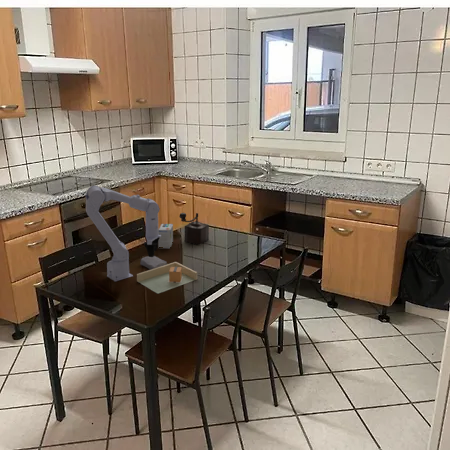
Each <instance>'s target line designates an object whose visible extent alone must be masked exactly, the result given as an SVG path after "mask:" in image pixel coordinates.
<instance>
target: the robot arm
mask: <svg viewBox="0 0 450 450" xmlns="http://www.w3.org/2000/svg"><path fill="white" fill-rule="evenodd" d="M110 200H111V201H112V200H113V201H116V202H120V203H125V204H128V206H129V208H130V209H131V208H132V209H135V210H138V211H140V212H141V211H142V212H145V239H146V241H144V243H143V245H144V247H145V249H146V251H147V255H148V256H149V257H153V256H155V252H157V250H158V247H159V245H158V241H159V238H160V237H161V235H159V234H158V229H159V212H160V211H161V210H160V209H161V208H160V206H159V204H158V203H157V202H156V201H155V200H153V199H152V198H145V197H142V196H140V194H133V195H131V196H129V195H127V194H124V193H121V192H118V191H115V190H112V189H111V188H106V187H104V186H101V187H99V186H98V185H91V186H90V187H88V189H87V191H86V194H85V212H86V214H87V217H89V219H90V221H92V223H93V224H94V225H95V227H96V229H97V230H98V231H99V233H100V234H101V235H102V237H103V238H104V239H105V241H106V242H107V244H108V245H109V247H110V249H111V251H112V253H113V254H112V255H113V256H112V258H111V260H109V261H108V262H107V263H106V268H107V269H106V274H107V275H106V277H107V278H109V279H110V280H112V281H113V282H118V281H122V280H124V279H128V278H131V277H134V275H133V274H132V273H130V261H129V260H130V259H129V257H130V253H129V250H128V249H127V247H126V245H125V243H124V242H122V241H121V240H119V238H118V237H117V236H116V234H115V233H114V231H113V230H112V228H111V227H110V225H109V224H108V223H107V221H106V220H105V218H104V217H103V216H102V215H101V213H100V212H99V211H100V208H101V205H103V203H104V202H109V201H110Z"/></svg>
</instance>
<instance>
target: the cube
mask: <svg viewBox="0 0 450 450" xmlns="http://www.w3.org/2000/svg"><path fill="white" fill-rule="evenodd" d="M181 278H182V267H171V268H170V270H169V282H180V281H181Z"/></svg>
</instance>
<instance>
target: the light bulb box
mask: <svg viewBox="0 0 450 450" xmlns="http://www.w3.org/2000/svg"><path fill="white" fill-rule="evenodd" d="M158 234H159V235H161V237H160V238H159V241H158V248H159V247H163V248H162V249H171V248H170V247H172V245H173V243H172V242H174V224H173V223H161V224H160V226H159V227H158Z"/></svg>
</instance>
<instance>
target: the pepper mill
mask: <svg viewBox="0 0 450 450" xmlns="http://www.w3.org/2000/svg"><path fill="white" fill-rule="evenodd" d="M186 217H187V214H186V213H185V212H181V213H180V214H179V218H180V219H181V220H180V222H184V223H188V224H186V225H184V239H183V240H184V242H186V243H189V244H193V245H196V246H197V245H198V246H200V245H202V244H204V243H206V242H208V241H209V239H210V238H209V233H210V232H209V231H210V230H209V229H210V224H209V223H208V224H207V223H202V222H200V221H199V218H198V217H199V213H197V212H196V213H195V217H194V218H192V219H190V220H187V218H186Z"/></svg>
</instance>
